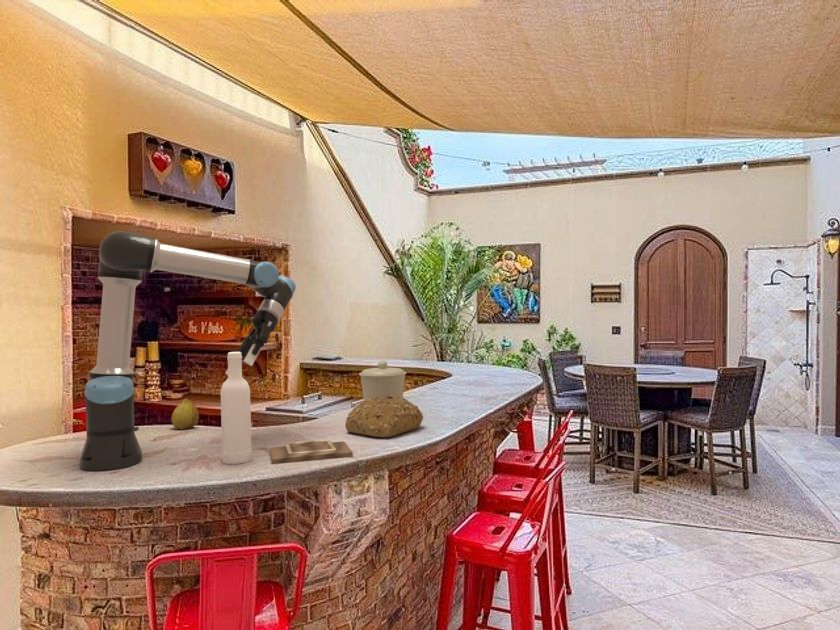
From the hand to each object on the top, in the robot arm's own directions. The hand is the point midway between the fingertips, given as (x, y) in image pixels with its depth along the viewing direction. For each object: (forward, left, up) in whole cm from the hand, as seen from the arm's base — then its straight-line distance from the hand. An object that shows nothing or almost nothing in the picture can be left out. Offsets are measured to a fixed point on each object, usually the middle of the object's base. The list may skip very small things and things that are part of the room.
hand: (238, 369), depth 177 cm
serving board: (+19, -16, -23) cm, 34 cm away
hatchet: (-39, +31, -24) cm, 55 cm away
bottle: (-1, -16, -24) cm, 29 cm away
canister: (+52, +33, -24) cm, 66 cm away
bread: (+46, +7, -24) cm, 53 cm away
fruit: (-19, +37, -24) cm, 48 cm away
